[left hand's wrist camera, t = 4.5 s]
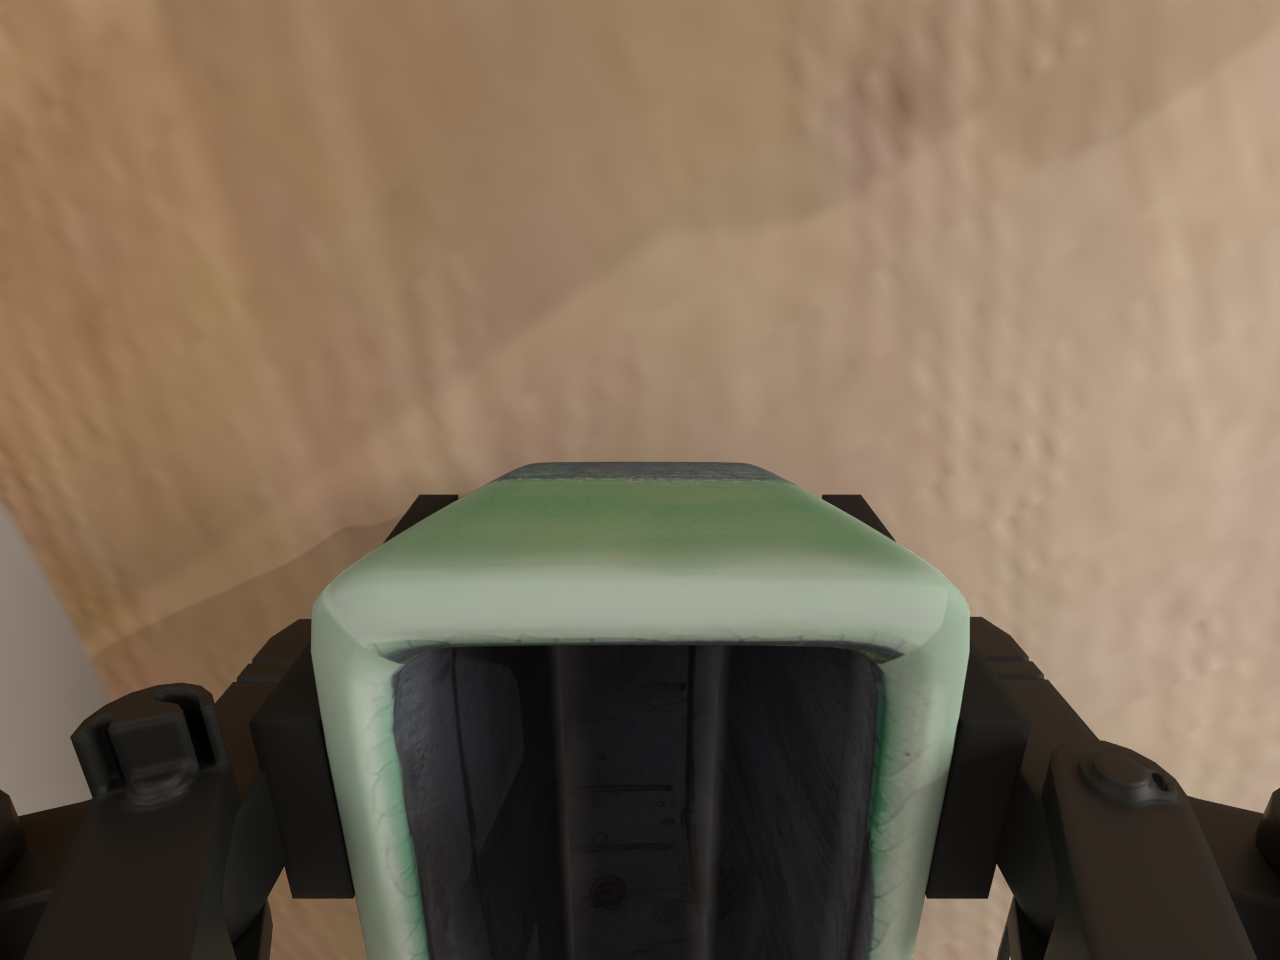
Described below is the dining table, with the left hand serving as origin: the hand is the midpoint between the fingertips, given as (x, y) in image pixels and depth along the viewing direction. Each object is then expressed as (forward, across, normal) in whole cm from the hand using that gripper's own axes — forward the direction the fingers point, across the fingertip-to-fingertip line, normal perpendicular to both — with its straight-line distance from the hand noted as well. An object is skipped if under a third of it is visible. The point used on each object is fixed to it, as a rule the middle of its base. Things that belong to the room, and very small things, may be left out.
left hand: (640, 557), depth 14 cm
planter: (+1, 0, -11) cm, 11 cm away
